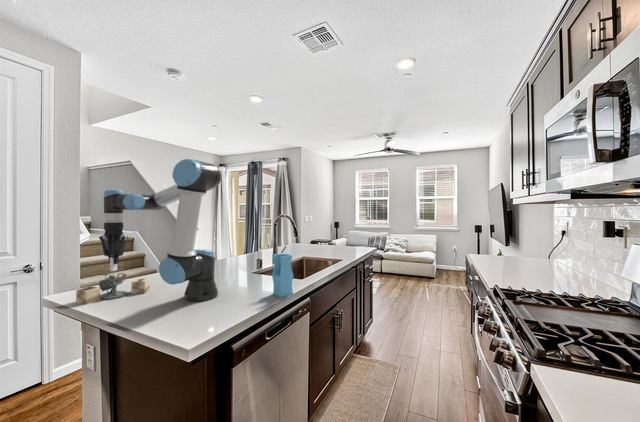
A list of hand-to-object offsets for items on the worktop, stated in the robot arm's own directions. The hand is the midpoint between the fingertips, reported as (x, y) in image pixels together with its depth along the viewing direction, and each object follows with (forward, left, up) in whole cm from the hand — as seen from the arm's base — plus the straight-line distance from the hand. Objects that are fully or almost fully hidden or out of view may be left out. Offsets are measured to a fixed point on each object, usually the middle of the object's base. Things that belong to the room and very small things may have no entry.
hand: (113, 270), depth 132 cm
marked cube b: (+5, +8, -13) cm, 16 cm away
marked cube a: (-8, -8, -13) cm, 17 cm away
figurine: (0, 0, -13) cm, 13 cm away
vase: (-80, -13, -13) cm, 82 cm away
